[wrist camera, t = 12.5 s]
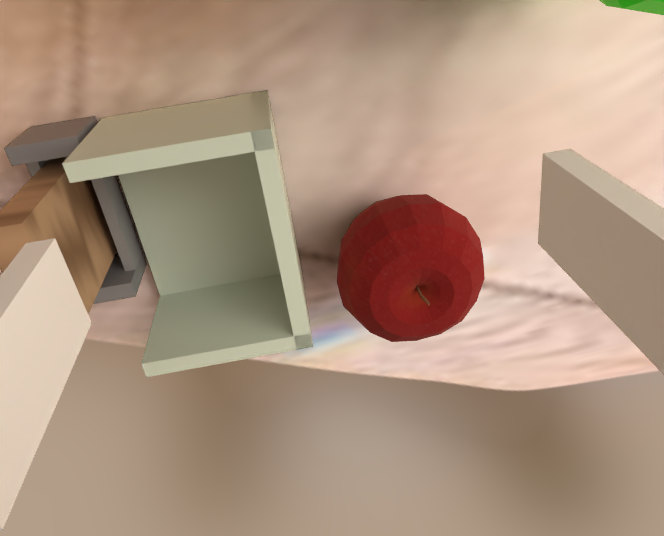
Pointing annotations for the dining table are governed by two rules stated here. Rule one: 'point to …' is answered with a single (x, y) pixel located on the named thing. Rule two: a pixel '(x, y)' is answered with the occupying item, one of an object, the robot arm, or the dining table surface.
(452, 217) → the apple
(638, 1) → the plastic bottle
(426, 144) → the dining table surface
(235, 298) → the cabinet
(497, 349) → the dining table surface
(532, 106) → the dining table surface
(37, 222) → the door panel
